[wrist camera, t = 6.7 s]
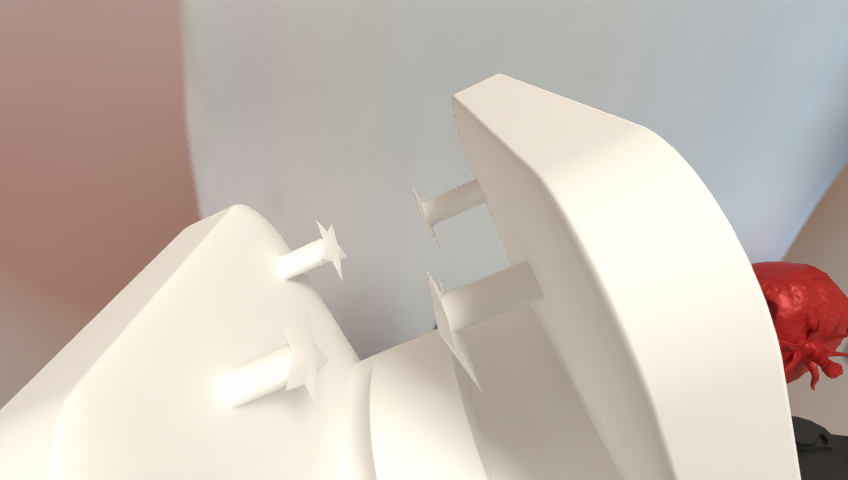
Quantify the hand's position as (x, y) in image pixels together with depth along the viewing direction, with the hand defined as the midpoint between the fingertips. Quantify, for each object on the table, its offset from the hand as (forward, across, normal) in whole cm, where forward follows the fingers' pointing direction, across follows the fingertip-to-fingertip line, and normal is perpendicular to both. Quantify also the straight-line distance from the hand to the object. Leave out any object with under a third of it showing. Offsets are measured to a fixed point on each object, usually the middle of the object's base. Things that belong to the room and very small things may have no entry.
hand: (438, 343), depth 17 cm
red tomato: (+20, -26, +17) cm, 37 cm away
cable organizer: (+2, 0, 0) cm, 2 cm away
